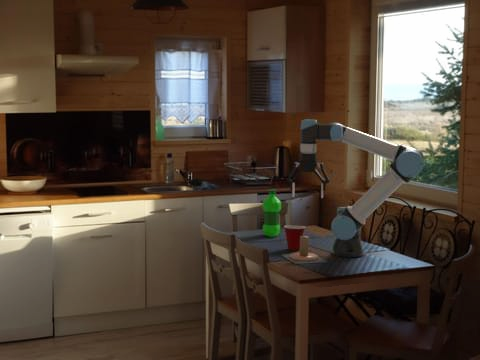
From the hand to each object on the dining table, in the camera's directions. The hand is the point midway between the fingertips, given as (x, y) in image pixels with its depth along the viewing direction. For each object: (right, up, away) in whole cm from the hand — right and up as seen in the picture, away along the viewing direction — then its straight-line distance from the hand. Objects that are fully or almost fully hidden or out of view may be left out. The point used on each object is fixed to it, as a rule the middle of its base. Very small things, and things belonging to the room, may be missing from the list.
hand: (307, 197), depth 366 cm
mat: (-2, -29, 0) cm, 29 cm away
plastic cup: (-5, -27, +20) cm, 34 cm away
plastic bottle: (-15, -22, +51) cm, 58 cm away
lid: (-2, -29, 0) cm, 29 cm away
